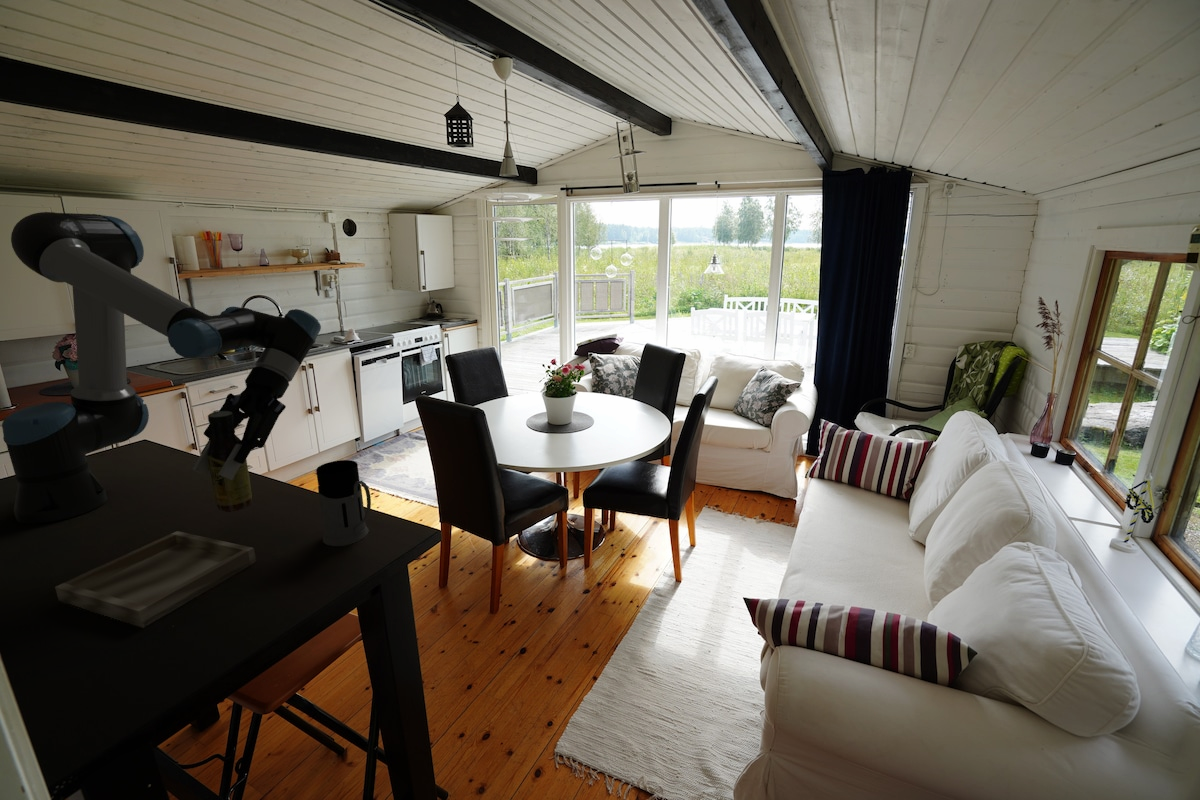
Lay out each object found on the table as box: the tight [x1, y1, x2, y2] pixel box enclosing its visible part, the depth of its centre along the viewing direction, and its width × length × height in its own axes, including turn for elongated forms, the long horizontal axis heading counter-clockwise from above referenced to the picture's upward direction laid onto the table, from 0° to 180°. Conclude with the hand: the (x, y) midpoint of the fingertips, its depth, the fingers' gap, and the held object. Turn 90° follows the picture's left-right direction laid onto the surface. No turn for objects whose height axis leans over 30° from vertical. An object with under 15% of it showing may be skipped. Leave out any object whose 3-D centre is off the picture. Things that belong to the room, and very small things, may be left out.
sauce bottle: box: [207, 410, 253, 513], centre depth 112 cm, size 6×6×20 cm
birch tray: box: [54, 530, 257, 629], centre depth 100 cm, size 20×20×3 cm
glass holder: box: [315, 459, 372, 547], centre depth 112 cm, size 9×14×15 cm, turn 56°
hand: (212, 474), depth 109 cm, fingers closed on sauce bottle, 6 cm apart
